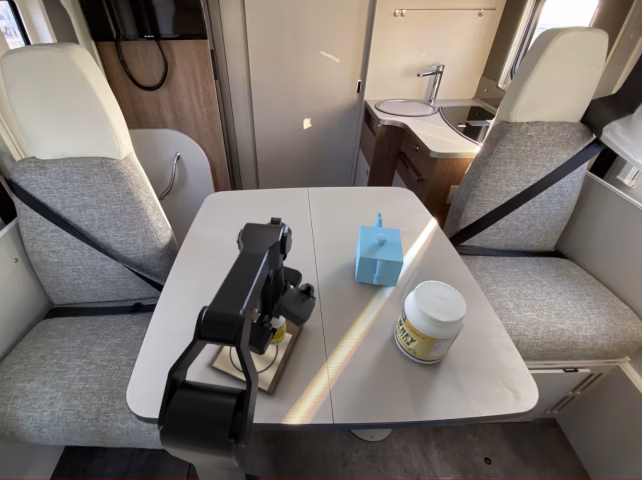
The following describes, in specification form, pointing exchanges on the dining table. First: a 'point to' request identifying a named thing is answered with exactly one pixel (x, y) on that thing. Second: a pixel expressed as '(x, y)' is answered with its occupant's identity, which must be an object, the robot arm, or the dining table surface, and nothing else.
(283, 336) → the supplement bottle
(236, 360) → the drawing board
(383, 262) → the teapot
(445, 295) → the supplement tub
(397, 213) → the dining table surface
